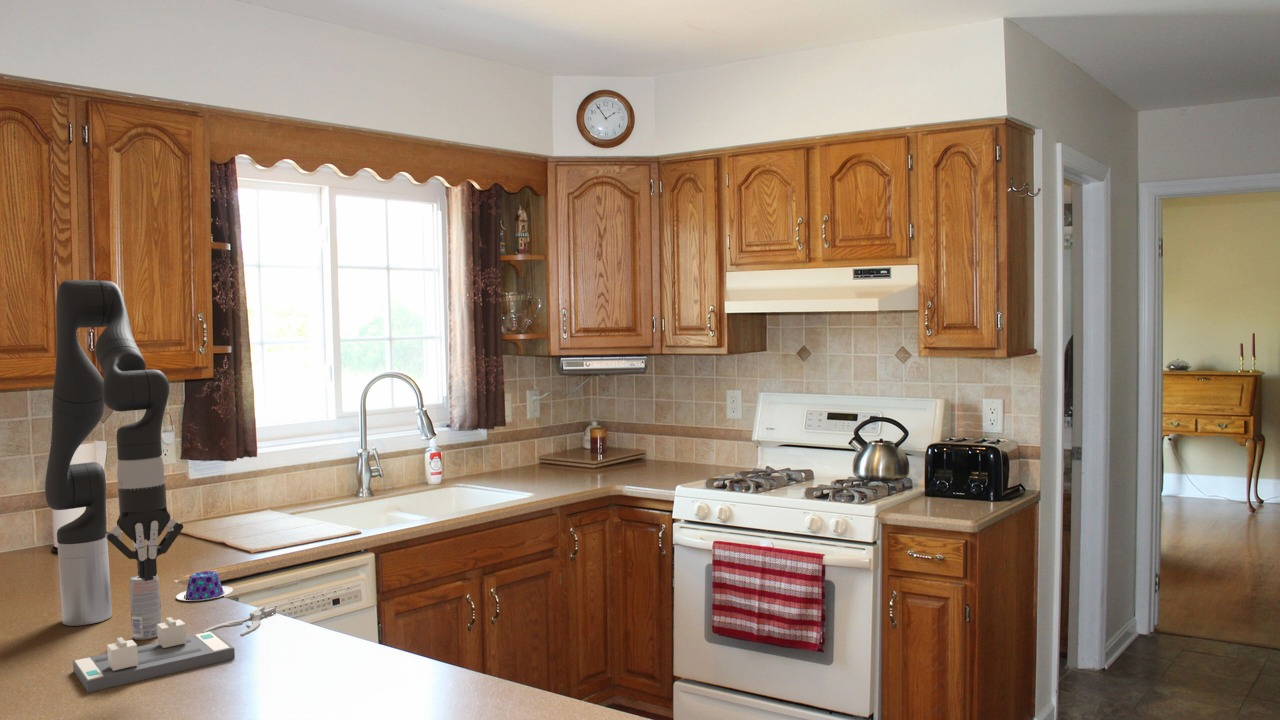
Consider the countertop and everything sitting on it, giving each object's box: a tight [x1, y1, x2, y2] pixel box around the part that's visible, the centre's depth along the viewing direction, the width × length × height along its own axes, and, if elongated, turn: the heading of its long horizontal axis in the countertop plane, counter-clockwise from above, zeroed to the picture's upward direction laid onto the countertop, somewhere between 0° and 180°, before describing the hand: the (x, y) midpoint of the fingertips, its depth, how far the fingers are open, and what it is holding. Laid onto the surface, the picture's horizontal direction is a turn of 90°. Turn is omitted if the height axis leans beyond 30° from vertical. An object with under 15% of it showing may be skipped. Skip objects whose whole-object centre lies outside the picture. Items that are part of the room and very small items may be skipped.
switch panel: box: [72, 630, 236, 694], centre depth 183 cm, size 14×24×2 cm, turn 128°
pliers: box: [201, 606, 277, 637], centre depth 207 cm, size 10×2×15 cm
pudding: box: [175, 570, 234, 602], centre depth 230 cm, size 12×12×5 cm
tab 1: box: [106, 636, 138, 671], centre depth 177 cm, size 4×4×4 cm
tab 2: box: [157, 616, 187, 648], centre depth 188 cm, size 4×4×4 cm
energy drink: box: [128, 574, 163, 641], centre depth 200 cm, size 5×5×12 cm
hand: (147, 579), depth 179 cm, fingers closed
